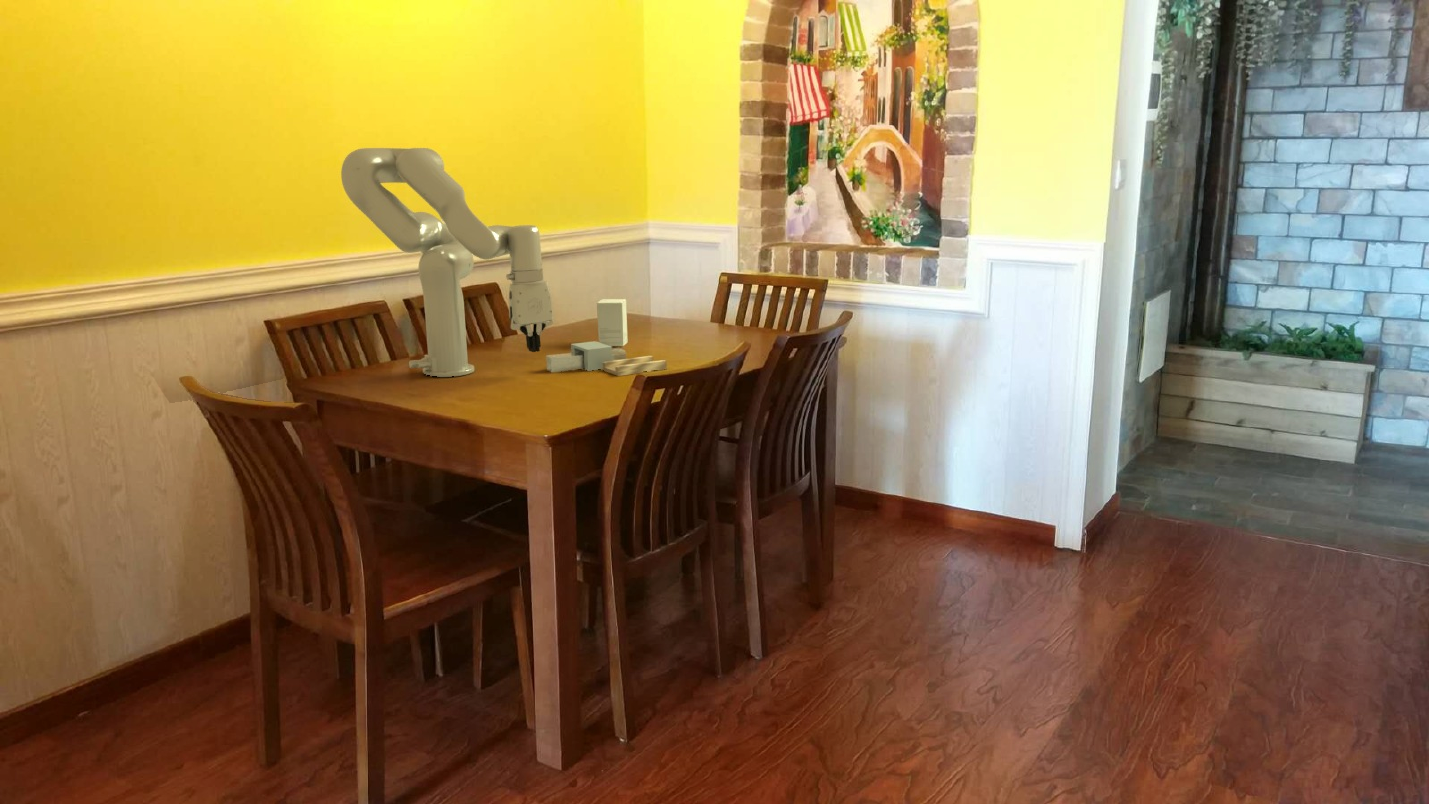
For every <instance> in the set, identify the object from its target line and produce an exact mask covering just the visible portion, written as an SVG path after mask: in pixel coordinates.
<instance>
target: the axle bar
mask: <svg viewBox="0 0 1429 804" xmlns="http://www.w3.org/2000/svg"><path fill="white" fill-rule="evenodd" d="M545 357H546V370H547V371H548V370H549V372H551V373H552V372H553V373H561V371H562V372H569V371H568V370H572V371H576V370H575V369H582V370H584V369H583V368H585V367H584V352H577V353H571V352H569V353H568V352H567V353H557V354H556V353H555V354H549V355H547V354H546V356H545ZM612 358H613V361H614V360H622V359H627V351H626V350H624V348H623V349H622V348H621V347H619V348H612Z"/></svg>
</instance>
